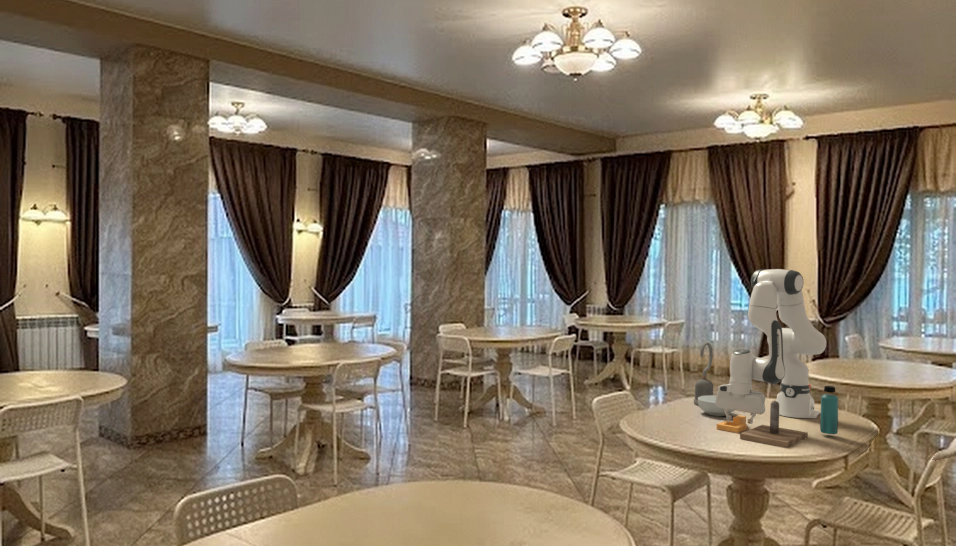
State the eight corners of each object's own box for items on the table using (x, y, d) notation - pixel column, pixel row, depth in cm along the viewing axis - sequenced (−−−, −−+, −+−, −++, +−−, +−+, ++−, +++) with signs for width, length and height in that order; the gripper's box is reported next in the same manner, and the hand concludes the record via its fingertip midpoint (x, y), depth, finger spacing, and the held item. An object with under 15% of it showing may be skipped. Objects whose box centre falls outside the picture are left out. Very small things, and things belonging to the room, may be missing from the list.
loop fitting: (732, 423, 307) (732, 413, 307) (752, 426, 301) (753, 417, 300) (716, 428, 296) (716, 419, 296) (737, 432, 290) (738, 423, 290)
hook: (719, 404, 347) (721, 342, 347) (708, 407, 339) (710, 344, 338) (701, 401, 354) (702, 340, 353) (689, 404, 345) (690, 342, 345)
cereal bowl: (697, 409, 335) (697, 394, 335) (735, 411, 330) (735, 396, 330) (698, 416, 318) (698, 400, 318) (737, 419, 314) (738, 403, 314)
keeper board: (762, 429, 296) (763, 394, 296) (807, 437, 284) (808, 400, 284) (739, 438, 280) (740, 401, 280) (787, 447, 268) (788, 408, 268)
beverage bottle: (839, 438, 283) (841, 388, 283) (821, 437, 285) (823, 387, 284) (835, 434, 290) (836, 385, 289) (817, 433, 291) (819, 384, 291)
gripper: (768, 391, 296) (767, 424, 296) (720, 384, 310) (719, 416, 310) (762, 393, 292) (761, 427, 292) (714, 386, 305) (713, 418, 306)
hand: (739, 421), depth 301 cm, fingers open, 8 cm apart
